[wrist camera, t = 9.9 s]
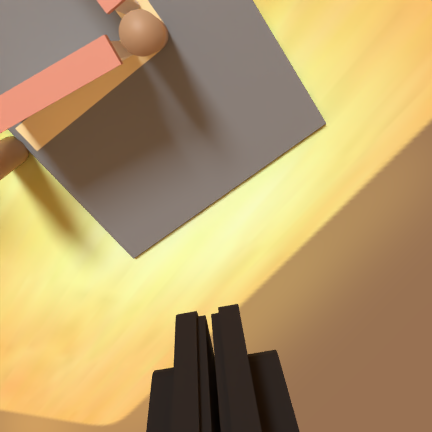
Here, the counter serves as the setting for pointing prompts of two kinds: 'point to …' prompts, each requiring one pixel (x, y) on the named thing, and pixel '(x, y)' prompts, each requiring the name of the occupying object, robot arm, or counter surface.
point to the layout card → (157, 109)
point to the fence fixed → (131, 40)
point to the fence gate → (60, 80)
